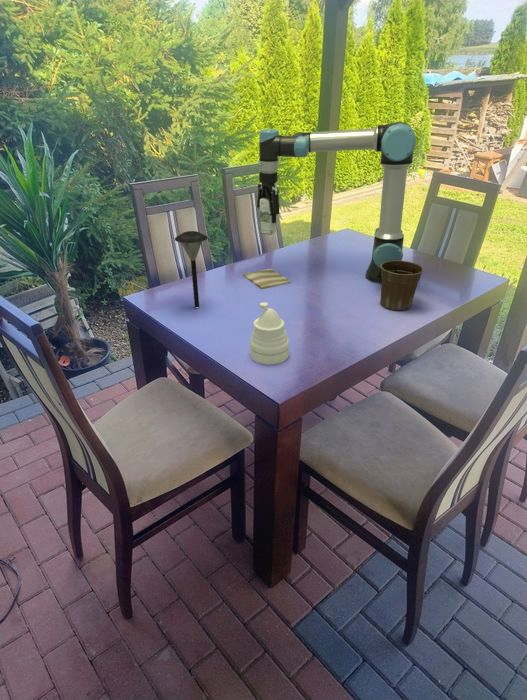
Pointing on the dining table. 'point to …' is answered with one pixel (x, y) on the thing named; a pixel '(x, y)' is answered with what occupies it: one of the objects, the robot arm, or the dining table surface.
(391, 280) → the plant pot
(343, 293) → the dining table surface
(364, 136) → the robot arm
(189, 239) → the solar garden light
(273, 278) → the birch board
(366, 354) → the dining table surface
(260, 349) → the honey pot
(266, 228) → the syrup box
